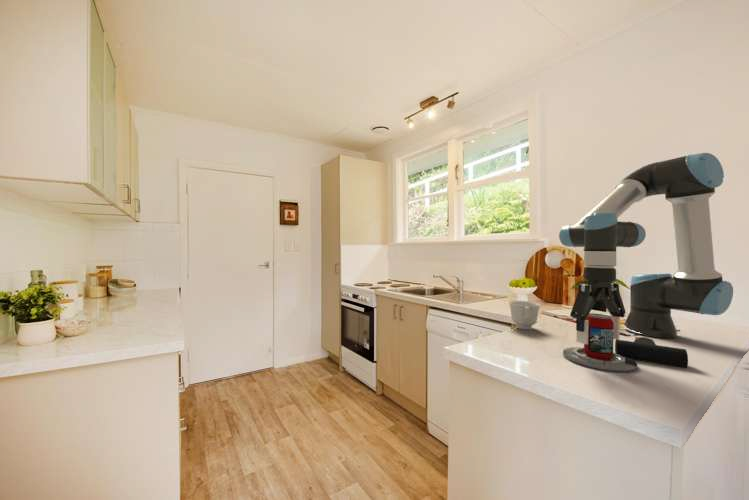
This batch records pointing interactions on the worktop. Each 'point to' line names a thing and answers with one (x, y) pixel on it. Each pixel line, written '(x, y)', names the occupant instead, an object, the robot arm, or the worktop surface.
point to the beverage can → (599, 337)
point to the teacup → (524, 313)
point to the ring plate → (600, 361)
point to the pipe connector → (651, 352)
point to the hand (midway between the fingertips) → (598, 340)
